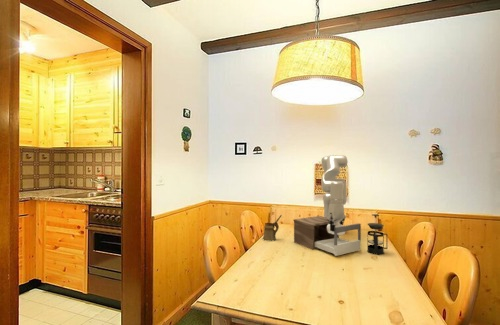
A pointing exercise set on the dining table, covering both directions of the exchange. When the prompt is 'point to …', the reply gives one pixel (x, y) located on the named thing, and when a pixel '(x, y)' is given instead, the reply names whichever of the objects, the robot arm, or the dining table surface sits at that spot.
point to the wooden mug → (270, 230)
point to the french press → (376, 238)
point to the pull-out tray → (341, 241)
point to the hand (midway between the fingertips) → (336, 229)
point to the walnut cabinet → (311, 231)
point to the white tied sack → (335, 226)
